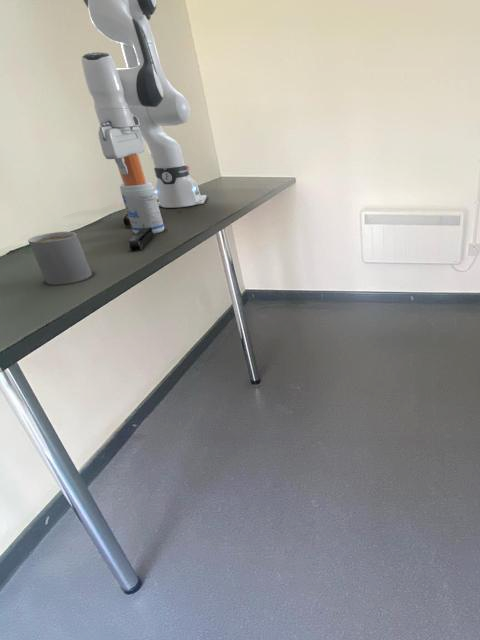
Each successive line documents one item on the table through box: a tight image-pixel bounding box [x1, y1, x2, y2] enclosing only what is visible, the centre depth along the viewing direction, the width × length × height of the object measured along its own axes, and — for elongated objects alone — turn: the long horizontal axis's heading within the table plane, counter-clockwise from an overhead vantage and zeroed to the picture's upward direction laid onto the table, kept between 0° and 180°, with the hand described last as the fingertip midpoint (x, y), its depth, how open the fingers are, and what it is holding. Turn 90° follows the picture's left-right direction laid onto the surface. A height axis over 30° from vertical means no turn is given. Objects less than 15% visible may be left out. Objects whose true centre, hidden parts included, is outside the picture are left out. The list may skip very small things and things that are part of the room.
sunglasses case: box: [123, 213, 132, 228], centre depth 171 cm, size 18×7×7 cm
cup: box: [117, 153, 147, 185], centre depth 148 cm, size 6×6×8 cm
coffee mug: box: [28, 231, 93, 286], centre depth 118 cm, size 13×10×10 cm
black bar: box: [128, 227, 155, 252], centre depth 145 cm, size 18×3×3 cm, turn 11°
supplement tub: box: [119, 181, 165, 235], centre depth 154 cm, size 10×10×15 cm
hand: (131, 172), depth 148 cm, fingers closed on cup, 6 cm apart
